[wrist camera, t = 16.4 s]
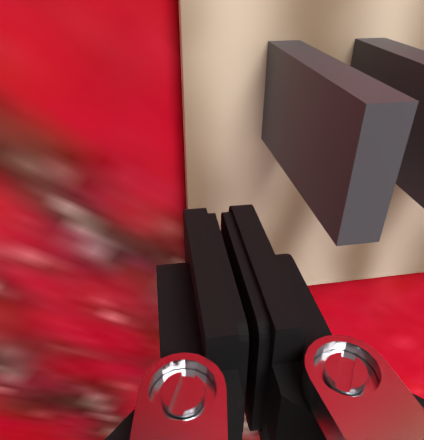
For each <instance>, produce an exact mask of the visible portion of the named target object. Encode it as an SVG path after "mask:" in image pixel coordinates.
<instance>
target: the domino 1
mask: <svg viewBox="0 0 424 440" xmlns="http://www.w3.org/2000/svg"><path fill="white" fill-rule="evenodd" d="M418 102H419V101H417V100H415V99H414V98H412V97H410V96H408V95H406V94H404V93H402V92H400V91H398V90H396V89H394V88H392V87H390V86H388V85H386V84H384V83H382V82H380V81H378V80H377V79H375V78H373V77H371V76H369V75H367V74H365V73H363V72H361V71H359V70H357V69H355V68H353V67H351V66H349V65H347V64H345V63H343V62H342V61H340V60H338V59H336V58H334V57H332V56H330V55H328V54H326V53H324V52H322V51H320V50H318V49H316V48H314V47H312V46H310V45H308V44H306V43H305V42H303V41H301V40H286V41H268V51H267V65H266V79H265V93H264V107H263V121H262V135H261V139H262V140H263V142H264V143H265V145H266V146H267V148H268V149H269V150H270V152H271V153H272V155H273V156H274V158H275V159H276V160H277V162H278V163H279V165H280V166H281V168H282V169H283V170H284V172H285V173H286V175H287V176H288V178H289V179H290V180H291V182H292V183H293V185H294V186H295V188H296V189H297V190H298V192H299V193H300V195H301V196H302V198H303V199H304V201H305V202H306V203H307V205H308V206H309V208H310V209H311V211H312V212H313V213H314V215H315V216H316V218H317V219H318V221H319V222H320V223H321V225H322V226H323V228H324V229H325V231H326V232H327V233H328V235H329V236H330V238H331V239H332V241H333V242H334V243H335V245H336V246H344V245H353V244H363V243H373V242H379V240H380V237H381V233H382V230H383V226H384V223H385V219H386V216H387V212H388V209H389V205H390V201H391V198H392V194H393V191H394V187H395V184H396V180H397V177H398V173H399V170H400V166H401V162H402V159H403V155H404V152H405V148H406V145H407V141H408V138H409V134H410V131H411V127H412V123H413V120H414V116H415V113H416V109H417V106H418Z"/></svg>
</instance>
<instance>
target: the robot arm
mask: <svg viewBox="0 0 424 440" xmlns="http://www.w3.org/2000/svg"><path fill="white" fill-rule="evenodd" d="M183 214H184V237H185V258H186V263H178V264H167V265H157V267H156V268H157V291H158V312H159V334H160V356H161V359H160V360H158V361H157V362H156V363H154V364H153V365H152V366H150V368H149V369H148V370H147V371H146V373H145V374H144V375H143V377H142V380H141V383H140V386H139V389H138V395H137V400H136V406H135V409H134V410H133V411H132V412H131V413H130V414H129V416H128V417H127V418H126V419H125V420H124V421H123V422H122V423H121V424H120V425H119V426H118V427H117V428H116V429H115V430H114V431H113V432H112V433H111V434H110V435H109V436H108V437H107V438H106V439H105V440H242V432H243V424H244V410H245V414H246V419H247V423H248V427H249V429H250V431H254V430H258V431H259V435H260V439H261V440H424V399H422V398H420V397H418V396H416V395H415V394H413V393H411V392H410V391H409V389H408V388H407V387H406V386H405V384H404V383H403V382H402V381H401V379H400V378H399V377H398V376H397V374H396V373H395V372H394V371H393V369H392V368H391V367H390V366H389V364H388V363H387V362H386V361H385V359H384V358H383V357H382V356H381V355H380V354H379V353H378V352H377V351H376V350H375V349H374V348H373V347H371V346H369V345H368V344H366V343H365V342H363V341H361V340H358V339H356V338H353V337H350V336H344V335H332V334H331V332H330V330H329V328H328V326H327V324H326V322H325V320H324V318H323V316H322V314H321V312H320V310H319V308H318V306H317V304H316V302H315V300H314V298H313V296H312V294H311V292H310V290H309V288H308V286H307V284H306V282H305V281H304V279H303V277H302V275H301V273H300V271H299V269H298V267H297V265H296V263H295V261H294V259H293V257H292V256H291V255H290V254H277V255H275V253H274V250H273V248H272V246H271V244H270V242H269V239H268V237H267V235H266V233H265V231H264V228H263V226H262V224H261V222H260V220H259V217H258V215H257V213H256V211H255V209H254V206H253V205H252V204H248V205H235V206H230V207H229V211H228V212H222V213H221V231H220V227H219V224H218V220H217V217H216V214H215V213H207V209H206V208H195V209H184V212H183Z"/></svg>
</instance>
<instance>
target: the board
mask: <svg viewBox="0 0 424 440" xmlns="http://www.w3.org/2000/svg"><path fill="white" fill-rule="evenodd" d="M178 5H179V31H180V56H181V81H182V107H183V132H184V157H185V182H186V208H187V209H195V208H206V209H207V213H215V214H216V217H217V220H218V224H219V227H220V231H221V213H222V212H228V211H229V207H230V206H235V205H248V204H252V205H253V206H254V209H255V211H256V213H257V215H258V217H259V220H260V222H261V224H262V226H263V228H264V231H265V233H266V235H267V237H268V239H269V242H270V244H271V246H272V248H273V250H274V253H275V255H277V254H290V255H291V256H292V257H293V259H294V261H295V263H296V265H297V267H298V269H299V271H300V273H301V275H302V277H303V279H304V281H305V282H306V284H307V286H308V285H316V284H325V283H334V282H342V281H351V280H360V279H368V278H377V277H386V276H394V275H403V274H412V273H420V272H424V208H423V207H421V206H420V205H419V204H418V203H417V202H416V201H415V200H413V199H412V198H411V197H410V196H409V195H408V194H407V193H405V192H404V191H403V190H402V189H401V188H400V187H399V186H397V185H396V184H395V187H394V191H393V194H392V198H391V201H390V205H389V209H388V212H387V216H386V219H385V223H384V226H383V230H382V233H381V237H380V240H379V242H373V243H363V244H353V245H344V246H336V245H335V243H334V242H333V241H332V239H331V238H330V236H329V235H328V233H327V232H326V231H325V229H324V228H323V226H322V225H321V223H320V222H319V221H318V219H317V218H316V216H315V215H314V213H313V212H312V211H311V209H310V208H309V206H308V205H307V203H306V202H305V201H304V199H303V198H302V196H301V195H300V193H299V192H298V190H297V189H296V188H295V186H294V185H293V183H292V182H291V180H290V179H289V178H288V176H287V175H286V173H285V172H284V170H283V169H282V168H281V166H280V165H279V163H278V162H277V160H276V159H275V158H274V156H273V155H272V153H271V152H270V150H269V149H268V148H267V146H266V145H265V143H264V142H263V140H262V139H261V135H262V121H263V107H264V93H265V79H266V65H267V51H268V41H286V40H301V41H303V42H305V43H306V44H308V45H310V46H312V47H314V48H316V49H318V50H320V51H322V52H324V53H326V54H328V55H330V56H332V57H334V58H336V59H338V60H340V61H342V62H343V63H345V64H347V65H349V66H350V65H351V60H352V54H353V49H354V43H355V38H388V39H391V40H394V41H397V42H400V43H403V44H406V45H409V46H412V47H415V48H418V49H421V50H424V0H178Z"/></svg>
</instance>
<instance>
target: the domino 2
mask: <svg viewBox="0 0 424 440" xmlns="http://www.w3.org/2000/svg"><path fill="white" fill-rule="evenodd" d="M350 66H351V67H353V68H355V69H357V70H359V71H361V72H363V73H365V74H367V75H369V76H371V77H373V78H375V79H377V80H378V81H380V82H382V83H384V84H386V85H388V86H390V87H392V88H394V89H396V90H398V91H400V92H402V93H404V94H406V95H408V96H410V97H412V98H414V99H415V100H417V101H419V102H418V106H417V109H416V113H415V116H414V120H413V123H412V127H411V131H410V134H409V138H408V141H407V145H406V148H405V152H404V155H403V159H402V162H401V166H400V170H399V173H398V177H397V180H396V185H397V186H399V187H400V188H401V189H402V190H403V191H404V192H405V193H407V194H408V195H409V196H410V197H411V198H412V199H413V200H415V201H416V202H417V203H418V204H419V205H420V206H421V207H423V208H424V50H421V49H418V48H415V47H412V46H409V45H406V44H403V43H400V42H397V41H394V40H391V39H388V38H355V43H354V49H353V54H352V60H351V65H350Z"/></svg>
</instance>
